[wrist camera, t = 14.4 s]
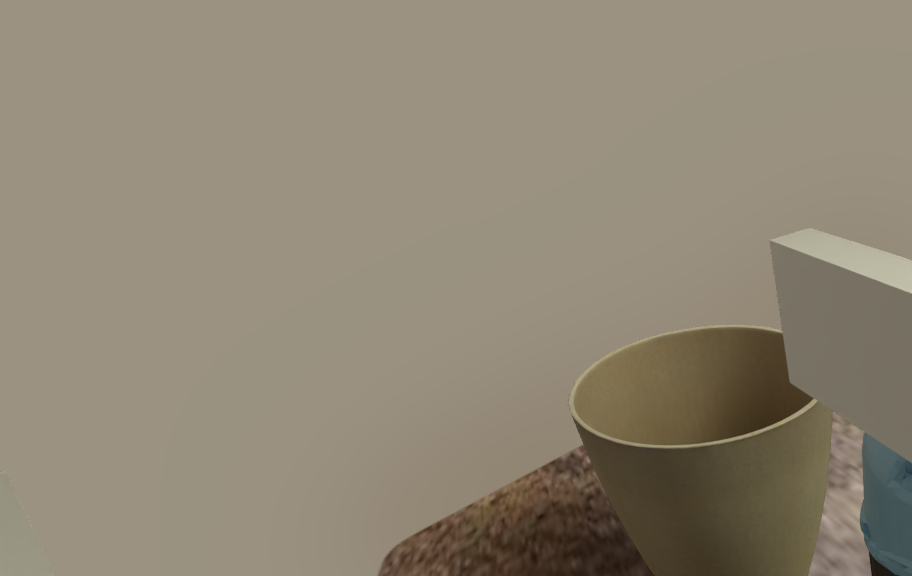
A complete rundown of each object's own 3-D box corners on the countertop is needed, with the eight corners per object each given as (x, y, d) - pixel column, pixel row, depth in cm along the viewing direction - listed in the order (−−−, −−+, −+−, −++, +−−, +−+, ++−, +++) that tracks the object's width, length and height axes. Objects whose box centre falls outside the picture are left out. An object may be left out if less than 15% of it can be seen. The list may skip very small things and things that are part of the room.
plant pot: (692, 506, 62) (655, 315, 57) (901, 567, 51) (877, 336, 46) (572, 630, 53) (517, 415, 48) (795, 735, 42) (751, 470, 37)
